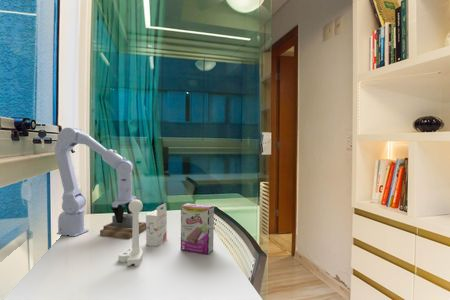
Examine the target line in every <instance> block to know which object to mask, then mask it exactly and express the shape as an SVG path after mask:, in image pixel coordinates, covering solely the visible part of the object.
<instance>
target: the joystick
mask: <svg viewBox="0 0 450 300" xmlns="http://www.w3.org/2000/svg"><path fill="white" fill-rule="evenodd" d="M143 205H144V204H143V202H142V201H141V200H140V199H135V200H132V201H131V202H130V203H129V210H130V211H131V212H132V214H133V229H132V238H131V239H132V240H131V241H132V243H131V246H129V247H128V251H127V250H126V251H121V252H119V253H118V255H117V256H118V259H117V260H118V261H119V262H120V263H127V264H126V265H127V266H128V267H129V266H132V265H134V267H139V266H140V265H141V264H142V262H143V253H144V252H143V249H142V247H141V246H140V233H139V222H140V221H139V220H140V219H139V218H140V217H139V214H140V212H141V211H142V210H143Z"/></svg>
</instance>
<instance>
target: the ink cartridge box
mask: <svg viewBox="0 0 450 300" xmlns="http://www.w3.org/2000/svg"><path fill="white" fill-rule="evenodd" d="M167 211H168V210H167V203H166V202H164V203H163V204H161V205H159V206H157V207H156V209H155V210H152V211H151V212H149V213H147V214H145V223H146V230H145V232H146V233H145V235H146V236H145V241H146V243H145V244H146V246H151V247H153V246H154V247H159V246H160V245H161V244H162V243H163V242H164V241H165V240H167V233H168V231H167V225H168V223H167V216H168V215H167V213H168V212H167Z"/></svg>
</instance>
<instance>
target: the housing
mask: <svg viewBox="0 0 450 300" xmlns="http://www.w3.org/2000/svg"><path fill="white" fill-rule="evenodd" d="M111 217H112V219H111V220H112V222H111V223H112V226H115V227H124V228H133V214H127V213H123V221H122V223H117V221H116V217H115V214H113V215H112V216H111Z"/></svg>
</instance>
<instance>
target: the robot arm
mask: <svg viewBox="0 0 450 300" xmlns="http://www.w3.org/2000/svg"><path fill="white" fill-rule="evenodd" d="M78 144H79V145H85V146H86V147H88V148H89V149H91V150H93V151H94V152H96V153H97V154H99V155H101V159H102V161H103V162H105V163H106V164H108V165H109V166H110V167H112V168H113V169H114V170H115V169H116V170H115V171H116V172H117V175H118V176H117V177H118V178H117V199H116V200H115V201H112V203H111V207H110V208H111V211H112V212H113V215H115V217H116V221H117V223H122V221H123V213H124V212H125V210H126V212H127V213H126V214H132V212H131V211H130V210H129V203H130V202H131V201H132V200H135V199H137V198H138V196H136V195H133V172H132V171H133V170H134V165H133V163H132V161H131V160H129V159H127V157H125V156H124V157H123V156H121V155H120V154H118V151H117V150H116V149H113V148H112V149H111V148H110V149H107V148H105V146H103V144H101V143H100V142H98V141H97V140H95V138H93V137H92V136H90V135H89V134H88V133H87V132H85V131H83V130H81V128H71V127H64V128H63V129H61V130H60V131H59V133H58V134H57V139H56V143H55V146H54V155H55V158H56V162H57V163H56V164H57V166H58V167H57V168H58V170H59V175H60V178H61V183H62V187H63V193H62V197H61V198H62V203H61V209H62V212H61V213H60V214H59V216H58V217H57V218H58V219H57V224H58V225H57V229H58V232H57V233H56V235H61V236H67V235H69V237H78V236H79V235H82V234H84V233H86V232H89V231H90V230H89V229H86V228H85V210H84V209H85V208H84V207H85V206H86V203H87V199H86V197H85V195H83V193H82V190H81V189H80V188H79V186H78V185H79V184H78V181H77V177H76V172H75V169H74V165H73V159H72V155H71V151H72V150H73V149H74V147H75V146H77V145H78ZM137 200H138V199H137ZM124 205H125V206H126V207H125V206H124ZM124 214H125V213H124Z"/></svg>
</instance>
